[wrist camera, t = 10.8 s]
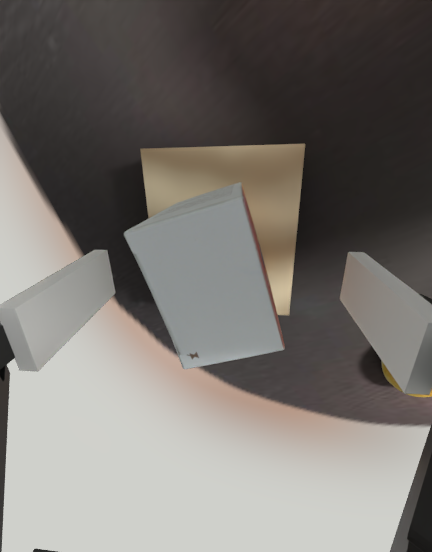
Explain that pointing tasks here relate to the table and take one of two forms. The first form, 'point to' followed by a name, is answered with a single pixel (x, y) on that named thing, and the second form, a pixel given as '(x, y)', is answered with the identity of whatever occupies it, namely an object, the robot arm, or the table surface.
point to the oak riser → (258, 189)
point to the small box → (209, 278)
